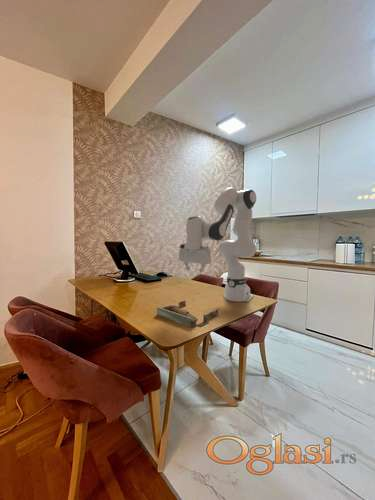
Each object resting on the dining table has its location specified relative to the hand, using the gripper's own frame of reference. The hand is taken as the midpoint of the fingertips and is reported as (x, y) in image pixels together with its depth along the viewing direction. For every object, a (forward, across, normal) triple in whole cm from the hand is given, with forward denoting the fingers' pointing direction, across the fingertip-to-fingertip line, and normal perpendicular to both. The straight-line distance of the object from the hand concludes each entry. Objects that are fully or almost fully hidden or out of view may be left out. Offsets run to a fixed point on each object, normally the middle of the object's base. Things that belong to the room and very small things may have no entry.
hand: (194, 270), depth 122 cm
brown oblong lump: (+23, -1, +11) cm, 26 cm away
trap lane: (+22, -2, +8) cm, 24 cm away
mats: (+22, -1, +9) cm, 24 cm away
